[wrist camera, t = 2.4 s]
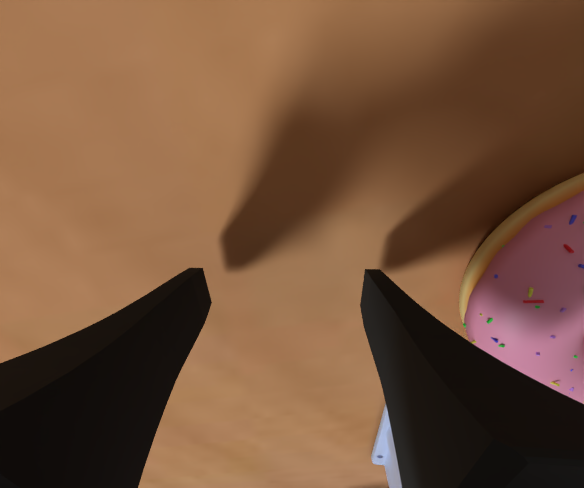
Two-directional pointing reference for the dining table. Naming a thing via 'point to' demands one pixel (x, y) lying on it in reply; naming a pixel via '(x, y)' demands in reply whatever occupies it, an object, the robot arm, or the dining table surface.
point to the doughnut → (533, 290)
